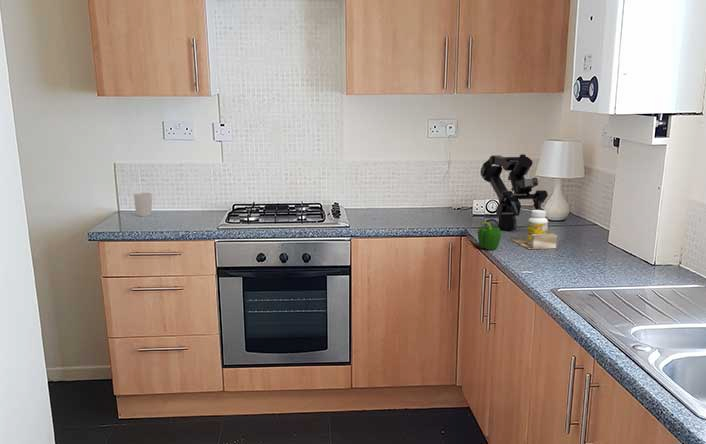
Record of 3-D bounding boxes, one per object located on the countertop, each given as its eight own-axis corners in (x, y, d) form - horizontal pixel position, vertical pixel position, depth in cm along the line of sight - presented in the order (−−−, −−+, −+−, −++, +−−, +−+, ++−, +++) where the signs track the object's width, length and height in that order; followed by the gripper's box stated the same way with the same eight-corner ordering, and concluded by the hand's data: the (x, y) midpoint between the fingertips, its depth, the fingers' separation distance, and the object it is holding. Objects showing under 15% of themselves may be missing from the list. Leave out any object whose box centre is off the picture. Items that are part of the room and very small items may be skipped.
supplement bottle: (550, 244, 233) (552, 211, 230) (538, 247, 228) (540, 213, 226) (534, 240, 238) (537, 208, 236) (522, 243, 234) (525, 210, 232)
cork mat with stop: (511, 240, 242) (512, 226, 241) (540, 239, 243) (541, 226, 242) (529, 250, 226) (530, 235, 225) (559, 249, 228) (560, 235, 227)
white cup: (131, 216, 285) (130, 194, 283) (141, 213, 292) (140, 192, 290) (146, 217, 282) (144, 195, 280) (156, 214, 290) (154, 193, 288)
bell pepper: (505, 249, 228) (506, 222, 226) (491, 252, 222) (493, 225, 220) (486, 244, 234) (487, 219, 232) (473, 248, 228) (474, 222, 226)
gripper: (503, 170, 240) (512, 203, 232) (547, 170, 243) (558, 202, 235) (494, 187, 249) (503, 219, 241) (537, 186, 252) (547, 218, 244)
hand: (528, 214), depth 240 cm, fingers open, 9 cm apart
